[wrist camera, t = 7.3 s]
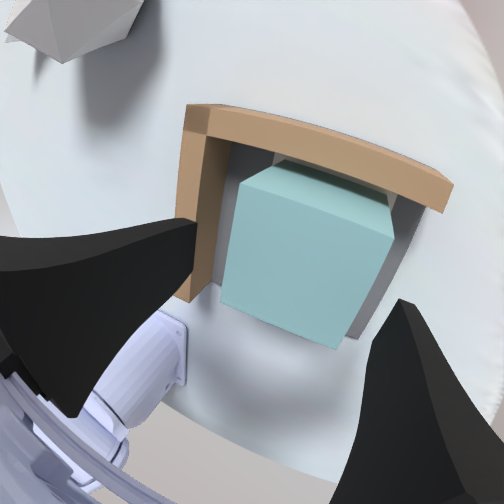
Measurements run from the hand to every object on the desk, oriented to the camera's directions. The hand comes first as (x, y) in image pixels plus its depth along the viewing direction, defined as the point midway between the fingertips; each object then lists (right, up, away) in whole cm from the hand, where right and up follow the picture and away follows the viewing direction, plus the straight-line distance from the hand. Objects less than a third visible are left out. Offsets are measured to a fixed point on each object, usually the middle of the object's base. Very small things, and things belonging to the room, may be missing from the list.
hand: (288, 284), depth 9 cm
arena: (+1, +2, +5) cm, 6 cm away
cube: (+2, +2, +4) cm, 5 cm away
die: (-9, +17, +2) cm, 20 cm away
